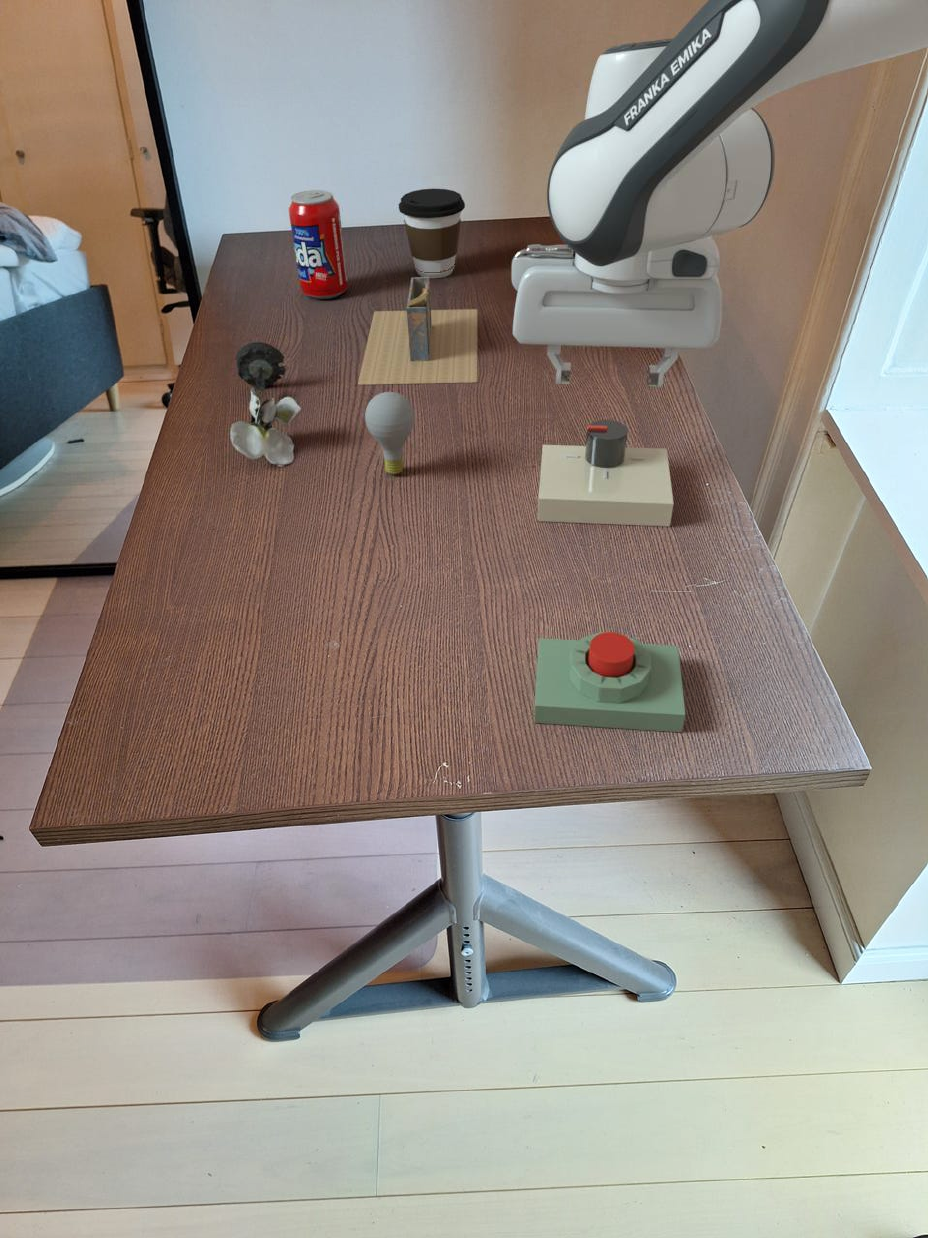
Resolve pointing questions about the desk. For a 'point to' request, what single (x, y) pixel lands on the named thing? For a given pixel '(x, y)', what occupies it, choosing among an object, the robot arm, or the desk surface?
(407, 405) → the light bulb
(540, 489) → the stove panel
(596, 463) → the burner knob
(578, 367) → the desk surface
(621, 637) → the button
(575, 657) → the box
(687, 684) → the desk surface
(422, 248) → the coffee cup
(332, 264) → the soda can
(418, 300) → the ruin model on sheet
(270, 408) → the artificial flower
